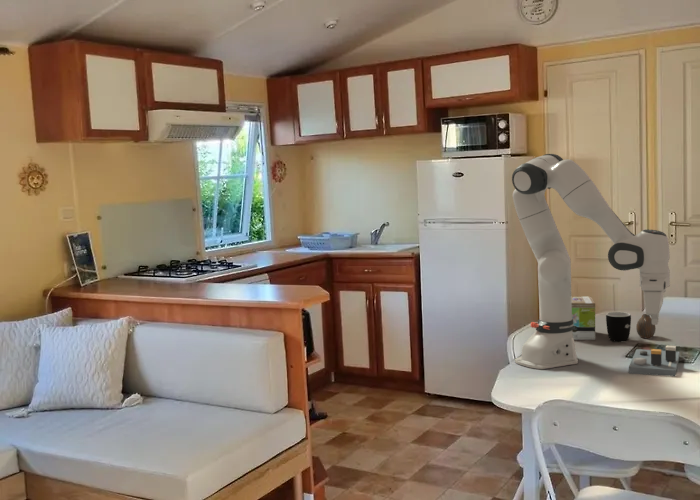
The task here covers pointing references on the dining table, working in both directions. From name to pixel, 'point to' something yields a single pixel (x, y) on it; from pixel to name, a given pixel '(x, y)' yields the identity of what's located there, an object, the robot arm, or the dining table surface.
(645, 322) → the vase
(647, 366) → the console
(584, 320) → the tea box
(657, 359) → the fader orange
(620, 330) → the mug
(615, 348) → the dining table surface
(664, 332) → the dining table surface
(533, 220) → the robot arm
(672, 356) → the fader white
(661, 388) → the dining table surface
